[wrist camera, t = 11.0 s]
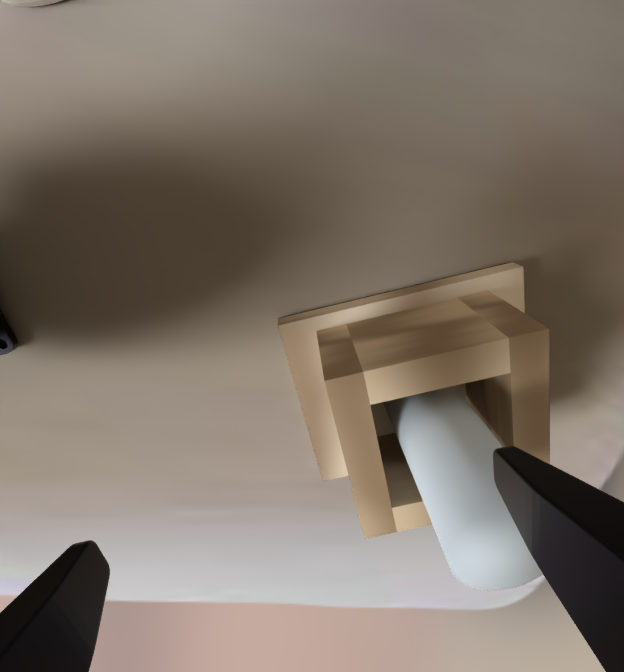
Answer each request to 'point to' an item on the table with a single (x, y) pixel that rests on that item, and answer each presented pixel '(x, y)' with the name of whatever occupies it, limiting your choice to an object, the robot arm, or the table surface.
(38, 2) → the eye dropper bottle
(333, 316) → the bottle holder
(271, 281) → the table surface
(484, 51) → the table surface
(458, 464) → the peg
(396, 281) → the table surface
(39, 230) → the table surface
